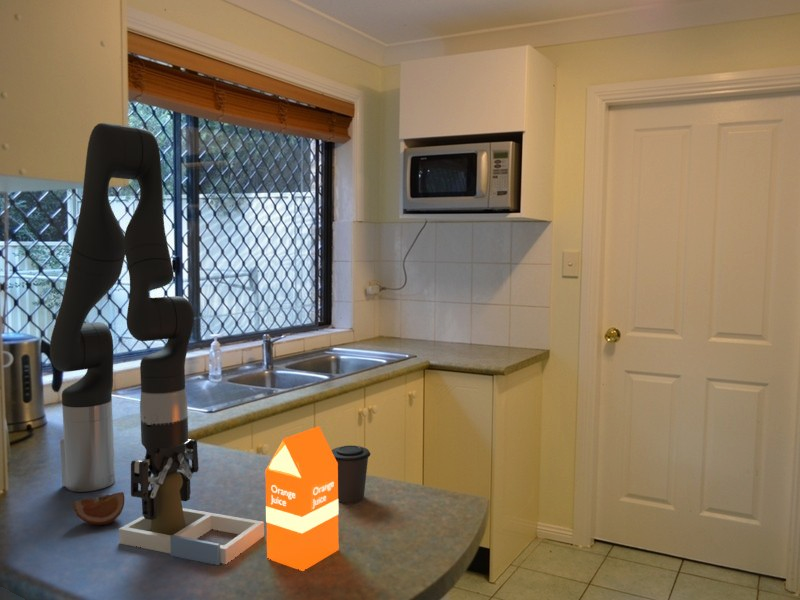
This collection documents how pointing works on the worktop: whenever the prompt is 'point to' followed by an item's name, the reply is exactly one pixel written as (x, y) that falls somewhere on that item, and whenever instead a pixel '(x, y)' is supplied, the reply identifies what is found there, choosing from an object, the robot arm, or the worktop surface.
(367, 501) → the worktop surface
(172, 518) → the olive rounded piece
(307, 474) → the orange juice
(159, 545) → the white flat rectangular frame
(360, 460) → the coffee cup
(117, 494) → the fruit slice
